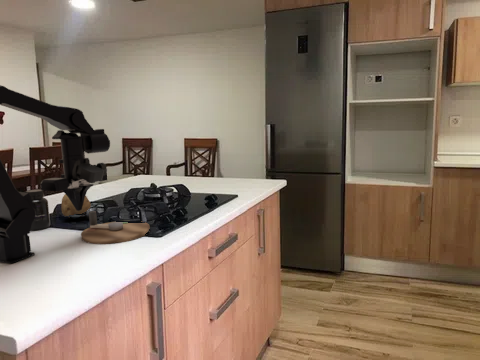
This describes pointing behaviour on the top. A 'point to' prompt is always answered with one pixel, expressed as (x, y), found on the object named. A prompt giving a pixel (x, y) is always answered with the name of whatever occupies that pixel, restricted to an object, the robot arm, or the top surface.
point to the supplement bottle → (40, 210)
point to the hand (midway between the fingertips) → (79, 210)
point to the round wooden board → (115, 233)
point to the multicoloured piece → (111, 225)
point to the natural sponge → (69, 207)
